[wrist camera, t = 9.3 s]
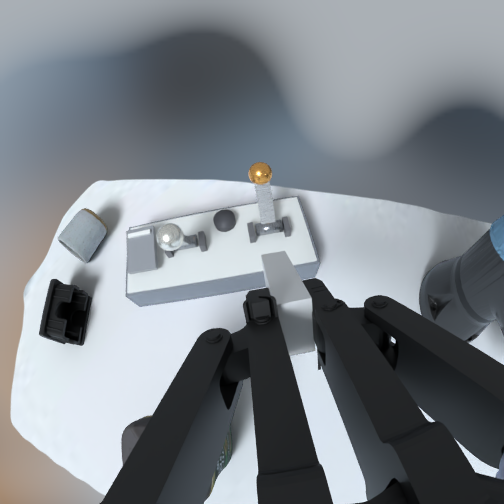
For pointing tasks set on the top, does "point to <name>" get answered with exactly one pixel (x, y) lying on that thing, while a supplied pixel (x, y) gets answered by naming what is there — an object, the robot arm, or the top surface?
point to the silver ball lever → (175, 238)
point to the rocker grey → (142, 250)
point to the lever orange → (264, 199)
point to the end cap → (65, 313)
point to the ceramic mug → (83, 234)
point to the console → (224, 254)
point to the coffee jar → (137, 427)
